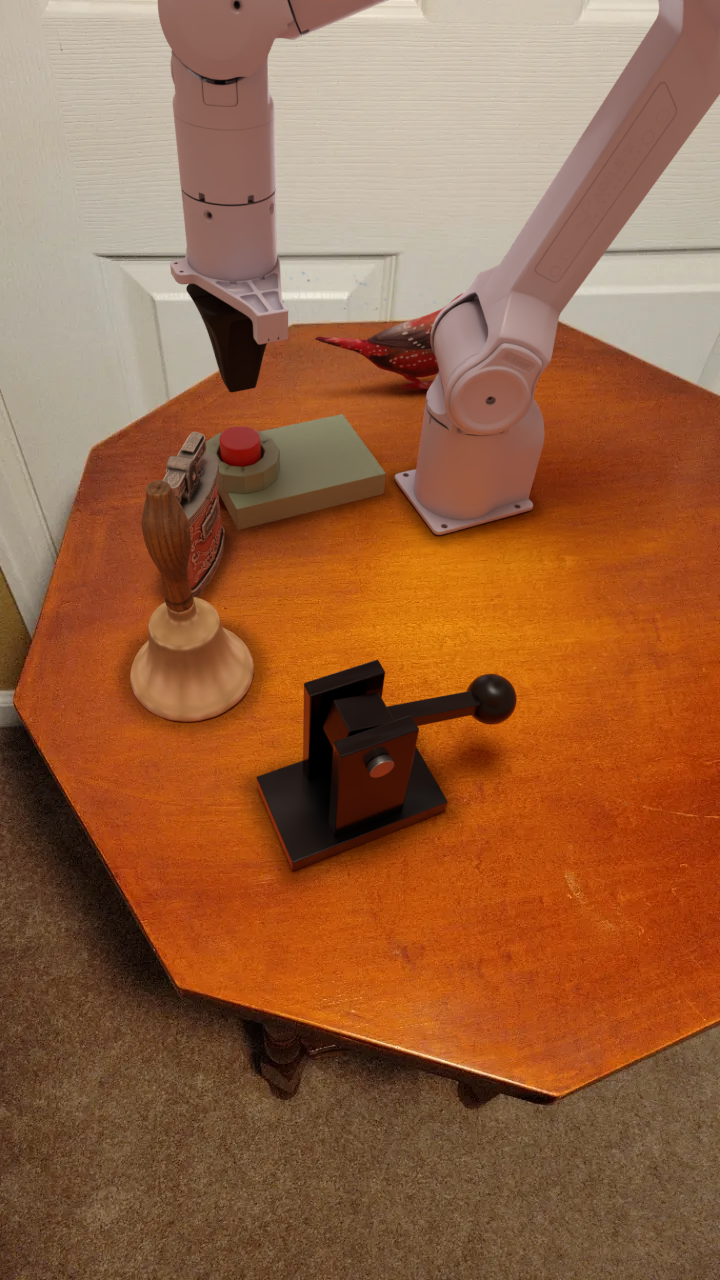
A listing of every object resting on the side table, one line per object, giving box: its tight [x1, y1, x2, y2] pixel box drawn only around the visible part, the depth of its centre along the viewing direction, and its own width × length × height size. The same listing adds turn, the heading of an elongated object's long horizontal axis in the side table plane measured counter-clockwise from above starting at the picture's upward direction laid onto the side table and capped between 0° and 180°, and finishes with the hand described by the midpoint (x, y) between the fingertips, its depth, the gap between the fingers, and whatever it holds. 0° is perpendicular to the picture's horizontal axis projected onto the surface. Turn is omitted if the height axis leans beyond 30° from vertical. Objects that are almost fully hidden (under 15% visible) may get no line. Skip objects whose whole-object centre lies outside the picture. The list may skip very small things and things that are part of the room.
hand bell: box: [129, 479, 255, 723], centre depth 49 cm, size 8×8×16 cm
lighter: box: [162, 431, 226, 598], centre depth 58 cm, size 8×3×10 cm, turn 168°
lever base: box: [255, 659, 449, 872], centre depth 46 cm, size 10×6×10 cm, turn 114°
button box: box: [205, 413, 387, 531], centre depth 67 cm, size 14×9×4 cm, turn 114°
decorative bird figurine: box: [314, 292, 464, 391], centre depth 75 cm, size 3×18×10 cm, turn 103°
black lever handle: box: [323, 673, 518, 747], centre depth 45 cm, size 12×3×3 cm, turn 114°
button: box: [219, 425, 261, 467], centre depth 64 cm, size 3×3×2 cm
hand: (239, 385), depth 59 cm, fingers closed
